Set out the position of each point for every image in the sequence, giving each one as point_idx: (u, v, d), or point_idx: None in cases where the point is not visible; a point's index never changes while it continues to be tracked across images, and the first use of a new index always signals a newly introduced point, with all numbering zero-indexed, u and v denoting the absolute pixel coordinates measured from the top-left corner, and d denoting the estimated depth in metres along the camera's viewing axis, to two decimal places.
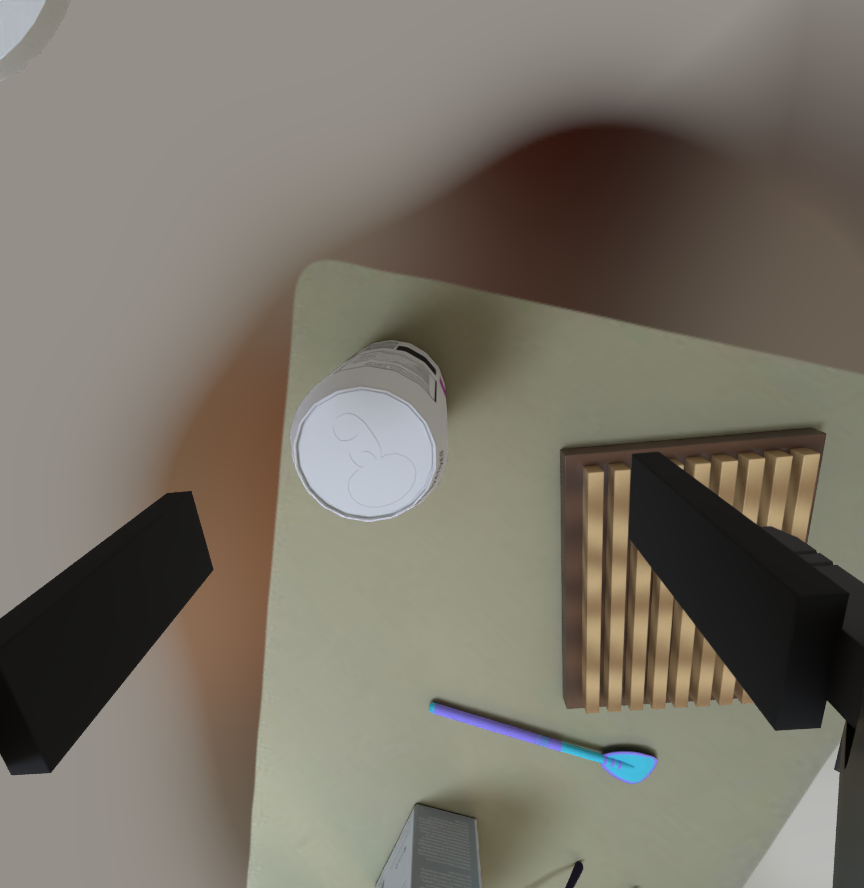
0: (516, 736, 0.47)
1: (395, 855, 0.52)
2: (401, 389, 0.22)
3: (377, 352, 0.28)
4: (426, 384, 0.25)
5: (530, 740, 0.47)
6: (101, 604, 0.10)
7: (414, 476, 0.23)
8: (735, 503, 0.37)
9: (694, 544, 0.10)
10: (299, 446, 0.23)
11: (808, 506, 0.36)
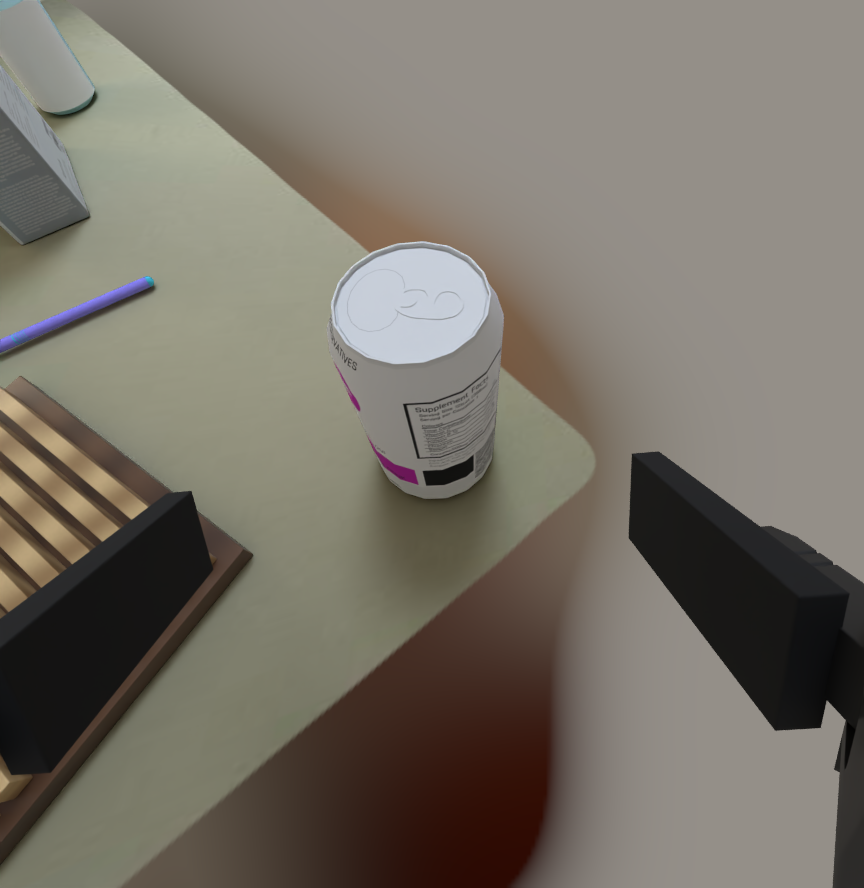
0: (48, 320, 0.41)
1: (68, 171, 0.50)
2: (441, 372, 0.19)
3: (485, 426, 0.25)
4: (425, 421, 0.22)
5: (31, 328, 0.41)
6: (101, 604, 0.10)
7: (355, 325, 0.20)
8: None
9: (694, 544, 0.10)
10: (464, 261, 0.21)
11: None
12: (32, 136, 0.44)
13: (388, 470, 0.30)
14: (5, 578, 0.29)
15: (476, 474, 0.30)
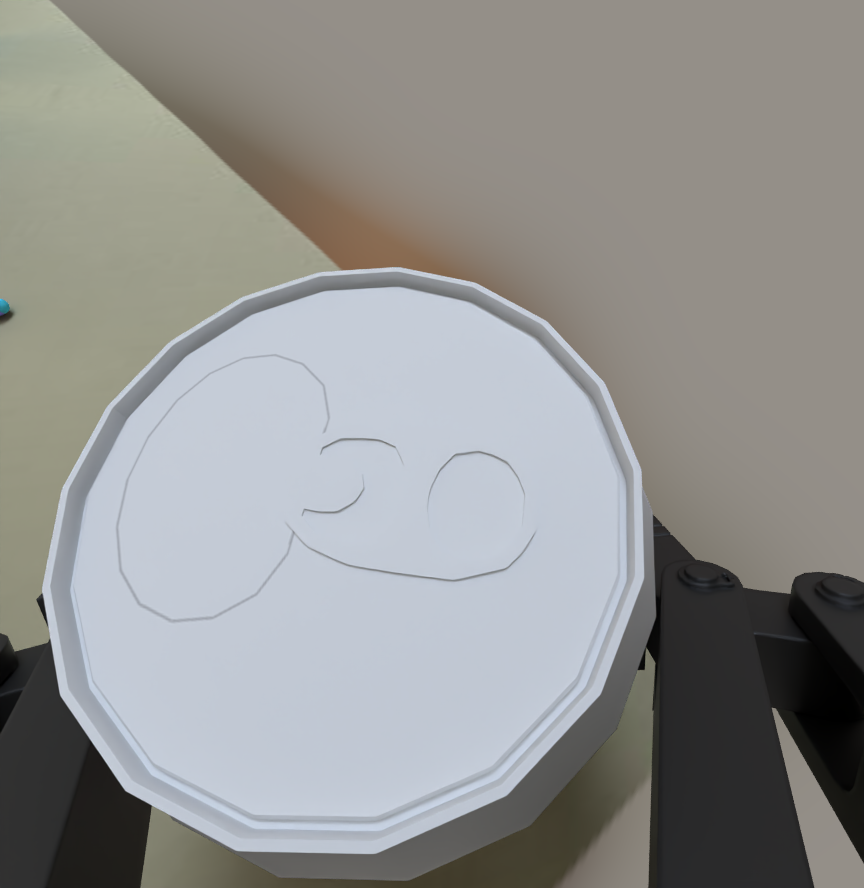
0: None
1: None
2: (453, 831, 0.05)
3: None
4: None
5: None
6: None
7: (131, 585, 0.05)
8: None
9: None
10: (528, 336, 0.07)
11: None
12: None
13: None
14: None
15: None
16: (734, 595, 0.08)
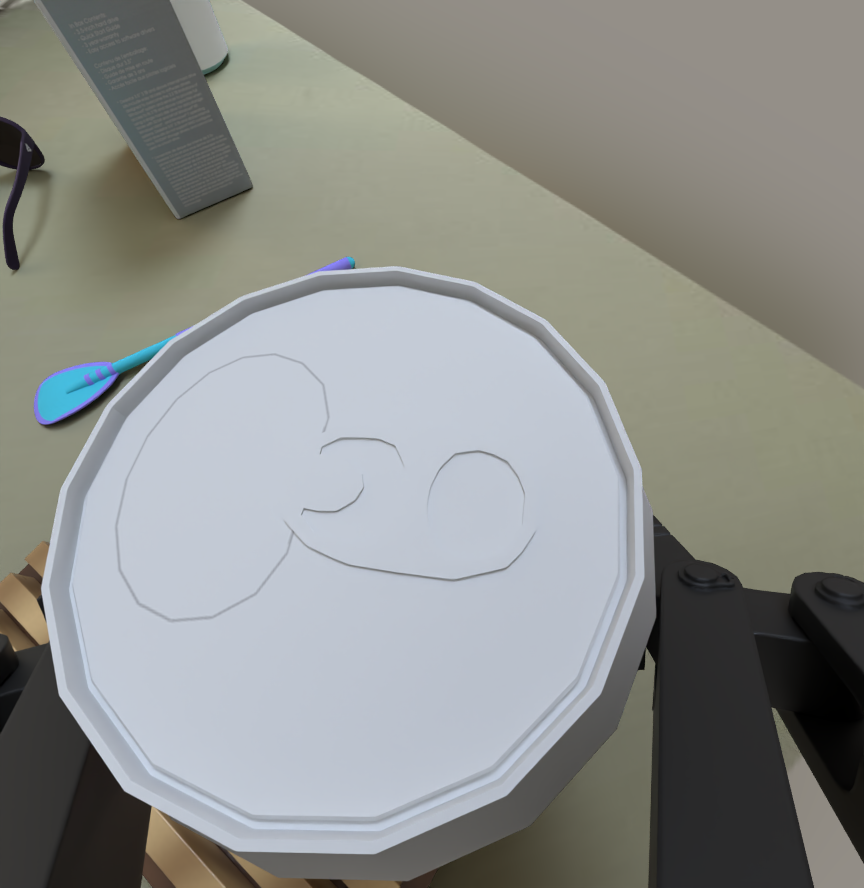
0: None
1: None
2: (453, 830, 0.05)
3: None
4: None
5: None
6: None
7: (130, 584, 0.05)
8: None
9: None
10: (528, 336, 0.07)
11: None
12: None
13: None
14: None
15: None
16: (734, 595, 0.08)
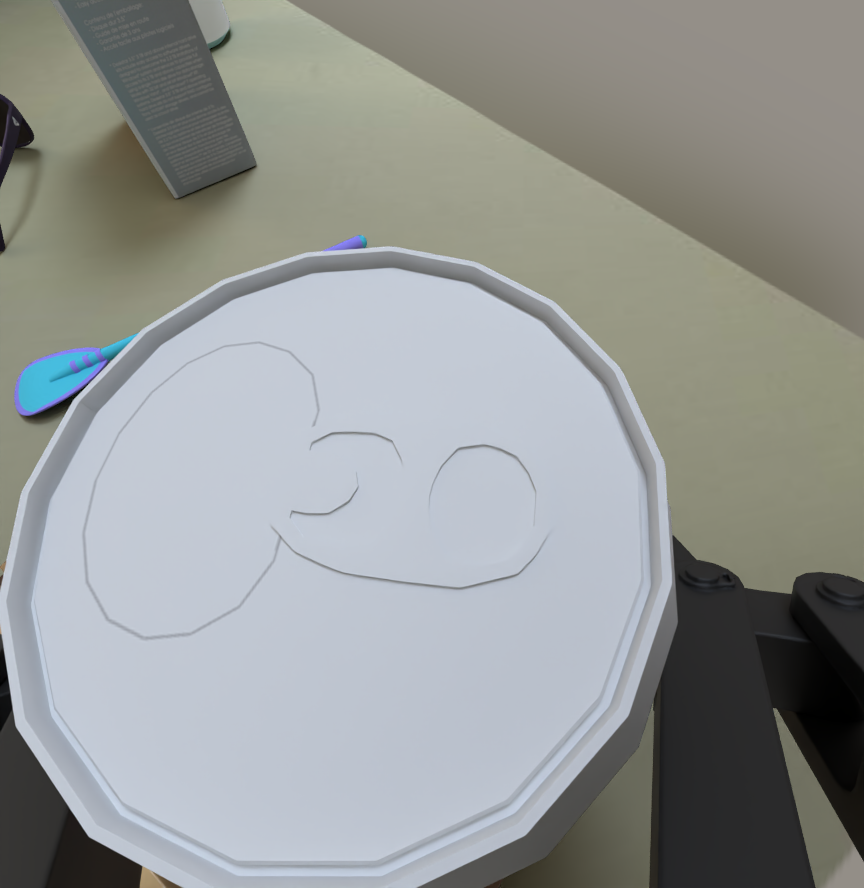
0: None
1: None
2: (462, 869, 0.04)
3: None
4: None
5: None
6: None
7: (100, 598, 0.05)
8: None
9: None
10: (535, 319, 0.06)
11: None
12: None
13: None
14: None
15: None
16: (735, 595, 0.07)
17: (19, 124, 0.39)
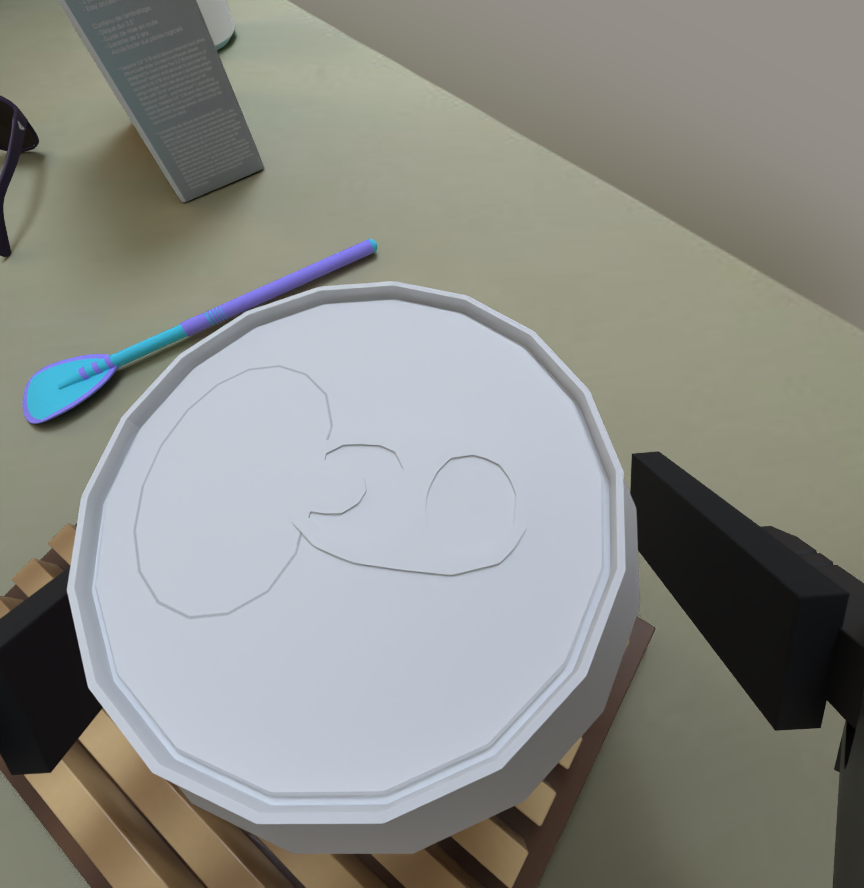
0: (251, 293, 0.31)
1: None
2: (454, 804, 0.05)
3: None
4: None
5: (230, 303, 0.31)
6: None
7: (150, 584, 0.06)
8: (368, 874, 0.17)
9: (694, 544, 0.10)
10: (517, 345, 0.07)
11: None
12: None
13: None
14: None
15: None
16: None
17: (24, 128, 0.39)
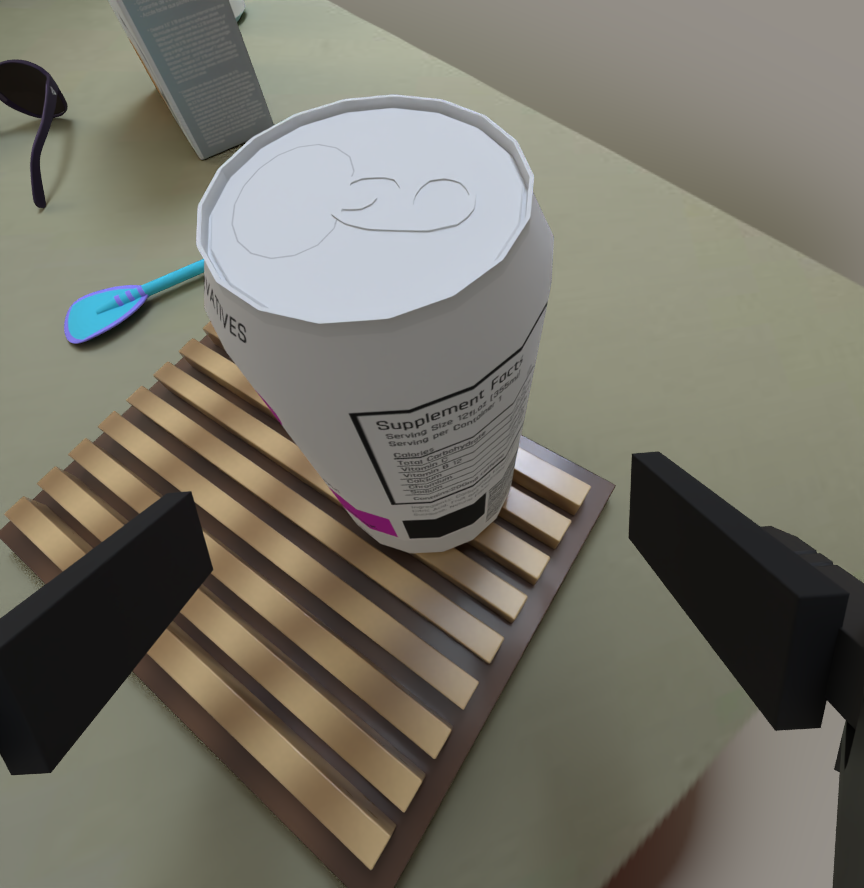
0: None
1: None
2: (429, 343, 0.09)
3: (508, 448, 0.15)
4: (400, 447, 0.11)
5: None
6: (101, 604, 0.10)
7: (245, 246, 0.09)
8: (374, 664, 0.20)
9: (694, 544, 0.10)
10: (474, 127, 0.11)
11: (285, 778, 0.18)
12: None
13: (351, 513, 0.19)
14: (327, 518, 0.22)
15: (488, 517, 0.20)
16: None
17: (56, 93, 0.42)
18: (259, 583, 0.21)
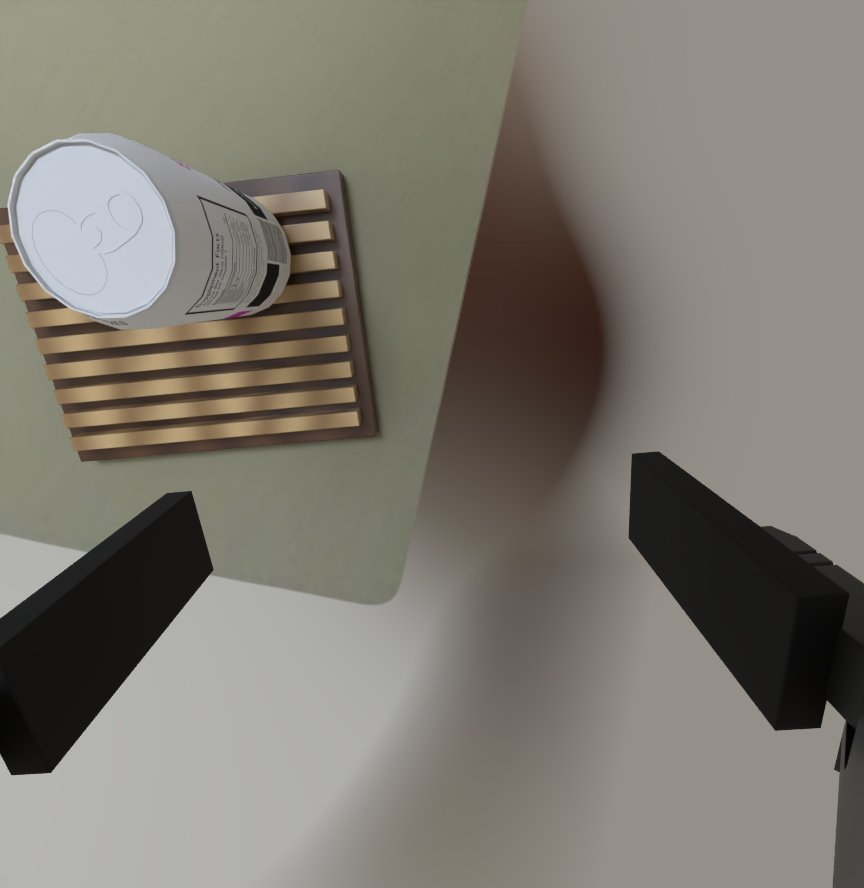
0: None
1: None
2: (184, 278, 0.21)
3: (253, 243, 0.27)
4: (211, 302, 0.24)
5: None
6: (101, 604, 0.10)
7: (85, 293, 0.21)
8: (301, 364, 0.37)
9: (694, 544, 0.10)
10: (87, 146, 0.19)
11: (305, 427, 0.38)
12: None
13: None
14: (215, 322, 0.36)
15: (284, 261, 0.32)
16: None
17: None
18: (220, 377, 0.37)
